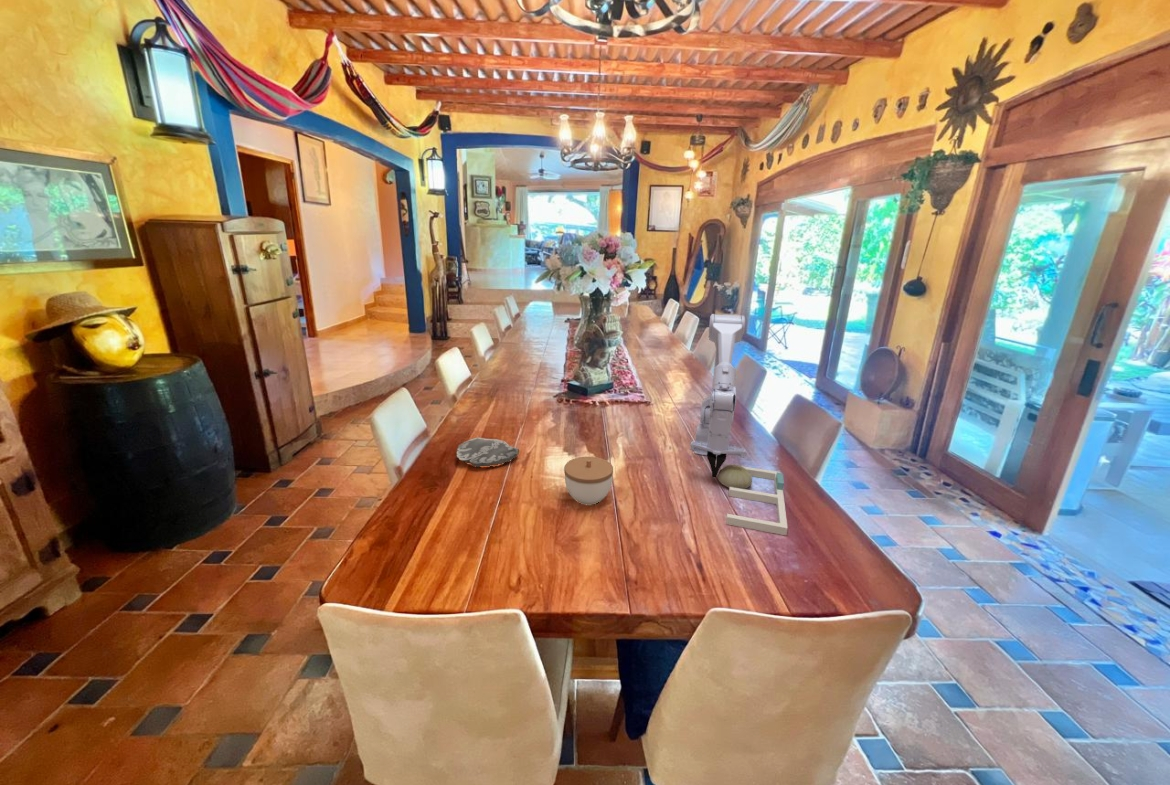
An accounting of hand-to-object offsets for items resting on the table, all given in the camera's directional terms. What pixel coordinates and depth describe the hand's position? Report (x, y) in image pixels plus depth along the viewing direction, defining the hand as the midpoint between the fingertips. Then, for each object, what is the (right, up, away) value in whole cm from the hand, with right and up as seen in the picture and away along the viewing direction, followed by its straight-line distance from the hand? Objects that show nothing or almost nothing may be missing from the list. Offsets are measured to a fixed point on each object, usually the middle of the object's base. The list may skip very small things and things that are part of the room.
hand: (714, 475), depth 132 cm
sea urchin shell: (+5, -2, -1) cm, 6 cm away
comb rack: (+8, -5, -9) cm, 13 cm away
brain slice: (-67, +3, +12) cm, 69 cm away
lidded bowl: (-36, -4, -9) cm, 37 cm away
